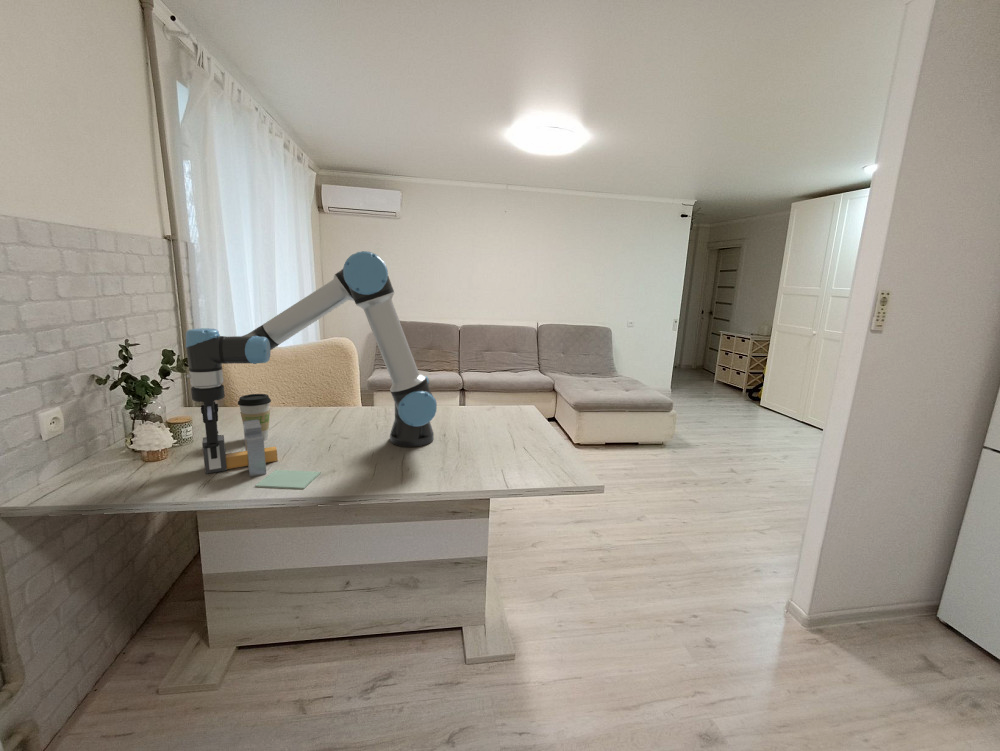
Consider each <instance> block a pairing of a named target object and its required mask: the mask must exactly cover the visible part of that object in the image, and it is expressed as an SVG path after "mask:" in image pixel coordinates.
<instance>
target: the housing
mask: <svg viewBox="0 0 1000 751" xmlns="http://www.w3.org/2000/svg"><path fill="white" fill-rule="evenodd" d="M242 424H243V427H242V428H243V436H244V448H245V450H244V451H247V457H248V473H249V477H250V478H251V477H256V476H263V475H267V467H266V465H267V463H265V450H264V448H265V440H264V438H263V435H262V431H261V425H260V422H259V420H258V419H256V420H247V421H243V422H242Z"/></svg>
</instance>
